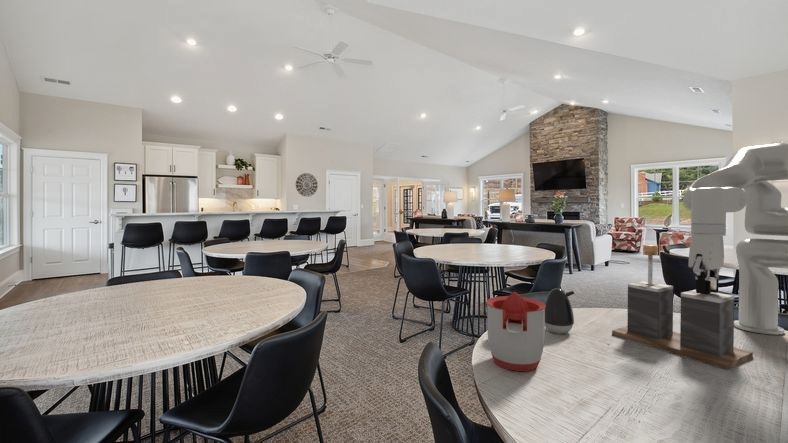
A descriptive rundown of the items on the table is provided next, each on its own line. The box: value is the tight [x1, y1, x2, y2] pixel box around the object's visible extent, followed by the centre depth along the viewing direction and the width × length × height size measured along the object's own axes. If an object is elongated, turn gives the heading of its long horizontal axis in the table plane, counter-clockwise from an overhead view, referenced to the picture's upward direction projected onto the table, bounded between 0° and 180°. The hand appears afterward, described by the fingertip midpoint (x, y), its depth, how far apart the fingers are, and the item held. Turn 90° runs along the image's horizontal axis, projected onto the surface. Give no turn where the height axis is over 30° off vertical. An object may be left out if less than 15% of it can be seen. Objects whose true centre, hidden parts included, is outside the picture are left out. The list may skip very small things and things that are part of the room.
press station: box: [611, 280, 754, 370], centre depth 109 cm, size 16×30×18 cm, turn 27°
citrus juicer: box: [485, 291, 546, 372], centre depth 97 cm, size 16×17×20 cm
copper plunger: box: [642, 244, 659, 286], centre depth 115 cm, size 7×7×20 cm
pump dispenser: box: [543, 287, 575, 335], centre depth 123 cm, size 10×10×15 cm
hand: (707, 292), depth 102 cm, fingers closed on ivory plunger, 4 cm apart
